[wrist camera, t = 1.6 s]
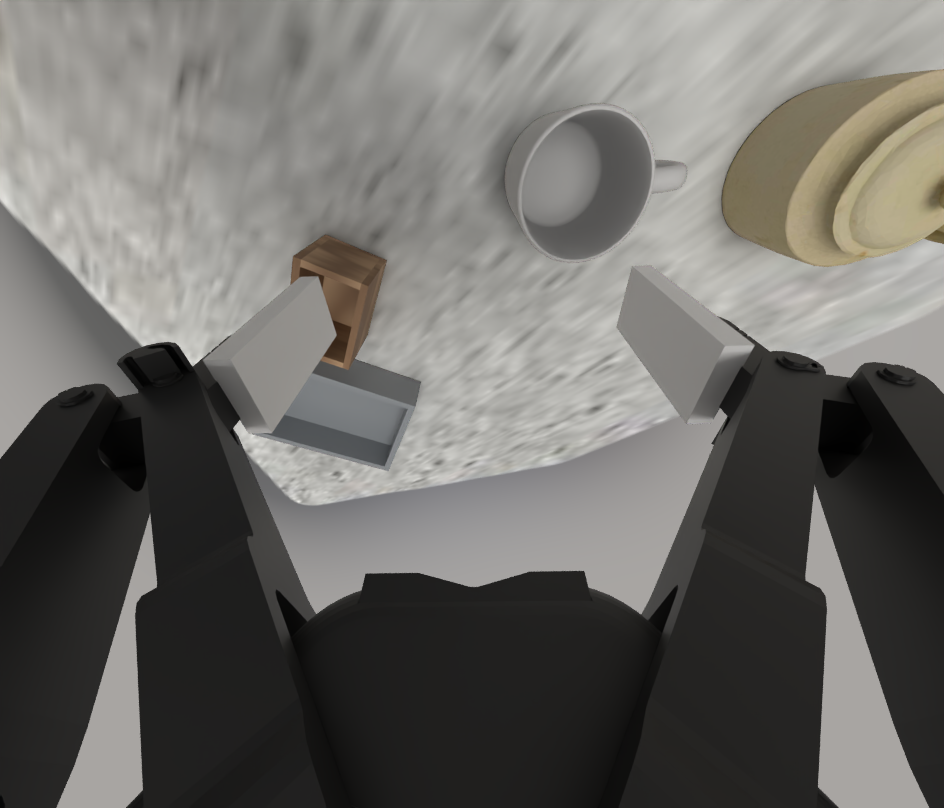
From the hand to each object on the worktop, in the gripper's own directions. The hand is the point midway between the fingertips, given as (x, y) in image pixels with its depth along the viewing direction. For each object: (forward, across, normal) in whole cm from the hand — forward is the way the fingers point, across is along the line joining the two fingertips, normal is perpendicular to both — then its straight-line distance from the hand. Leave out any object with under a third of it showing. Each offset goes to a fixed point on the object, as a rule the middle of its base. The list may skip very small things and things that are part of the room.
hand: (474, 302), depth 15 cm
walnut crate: (+21, -14, -7) cm, 26 cm away
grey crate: (+21, -18, -21) cm, 35 cm away
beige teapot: (+21, +29, +2) cm, 36 cm away
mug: (+21, +9, +2) cm, 23 cm away
